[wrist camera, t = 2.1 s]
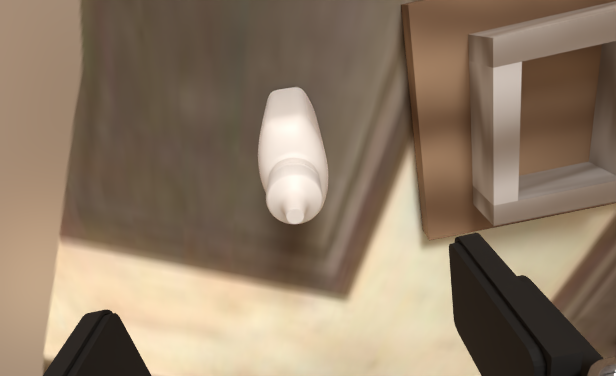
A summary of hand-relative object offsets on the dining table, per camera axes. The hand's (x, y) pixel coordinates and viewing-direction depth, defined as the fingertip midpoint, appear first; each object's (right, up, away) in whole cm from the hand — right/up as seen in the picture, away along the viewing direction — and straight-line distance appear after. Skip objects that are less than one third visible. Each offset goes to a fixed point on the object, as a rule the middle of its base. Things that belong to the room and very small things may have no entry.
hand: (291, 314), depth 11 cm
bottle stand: (+15, +9, +15) cm, 23 cm away
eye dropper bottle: (-1, +8, +15) cm, 17 cm away
